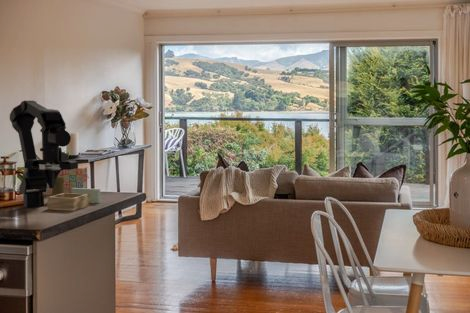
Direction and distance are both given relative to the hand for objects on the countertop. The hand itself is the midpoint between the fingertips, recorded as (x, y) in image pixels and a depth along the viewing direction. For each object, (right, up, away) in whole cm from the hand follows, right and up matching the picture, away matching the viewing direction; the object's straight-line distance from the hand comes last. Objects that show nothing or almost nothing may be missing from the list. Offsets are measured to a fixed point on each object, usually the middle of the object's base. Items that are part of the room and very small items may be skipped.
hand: (51, 188), depth 204 cm
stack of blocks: (-11, -6, +50) cm, 52 cm away
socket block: (+3, -8, +11) cm, 14 cm away
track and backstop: (+4, -8, +14) cm, 17 cm away
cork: (-6, -8, +27) cm, 29 cm away
